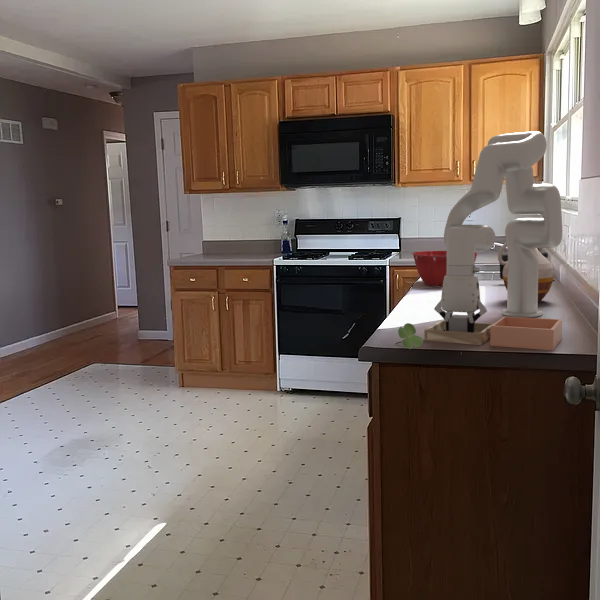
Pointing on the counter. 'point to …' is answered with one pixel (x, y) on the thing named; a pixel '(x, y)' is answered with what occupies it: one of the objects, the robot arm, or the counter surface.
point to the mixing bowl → (432, 266)
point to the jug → (543, 272)
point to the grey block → (458, 323)
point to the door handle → (505, 258)
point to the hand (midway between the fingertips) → (460, 334)
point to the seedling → (409, 336)
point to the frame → (458, 334)
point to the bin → (526, 333)
